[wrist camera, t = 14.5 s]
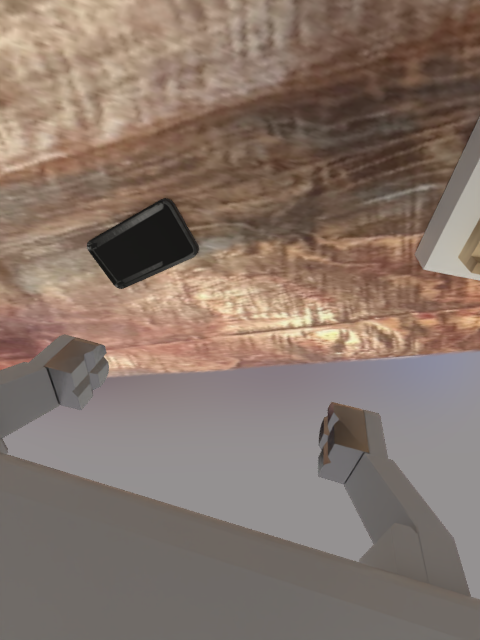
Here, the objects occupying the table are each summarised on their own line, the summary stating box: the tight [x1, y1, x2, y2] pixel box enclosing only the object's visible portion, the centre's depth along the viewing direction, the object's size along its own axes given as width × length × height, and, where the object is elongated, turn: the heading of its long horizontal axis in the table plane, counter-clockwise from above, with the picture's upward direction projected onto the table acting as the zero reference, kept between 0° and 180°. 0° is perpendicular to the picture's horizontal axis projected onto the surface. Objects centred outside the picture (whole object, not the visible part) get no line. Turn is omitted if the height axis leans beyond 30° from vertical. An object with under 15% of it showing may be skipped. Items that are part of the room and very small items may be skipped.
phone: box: [87, 198, 199, 289], centre depth 42 cm, size 8×1×15 cm
